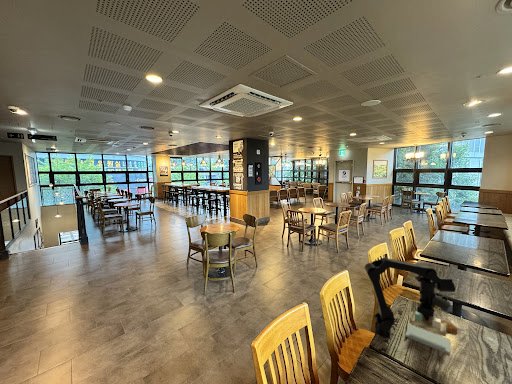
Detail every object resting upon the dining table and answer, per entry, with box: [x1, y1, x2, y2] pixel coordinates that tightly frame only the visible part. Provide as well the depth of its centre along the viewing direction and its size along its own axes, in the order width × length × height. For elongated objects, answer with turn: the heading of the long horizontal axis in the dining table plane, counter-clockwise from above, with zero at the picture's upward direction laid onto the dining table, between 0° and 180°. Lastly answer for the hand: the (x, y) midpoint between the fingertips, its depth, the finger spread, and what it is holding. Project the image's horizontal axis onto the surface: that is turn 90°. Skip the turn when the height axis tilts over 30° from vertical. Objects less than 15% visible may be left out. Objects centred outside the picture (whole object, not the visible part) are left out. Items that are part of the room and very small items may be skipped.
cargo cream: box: [432, 316, 442, 328], centre depth 103 cm, size 3×3×3 cm
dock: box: [405, 324, 451, 355], centre depth 107 cm, size 17×10×2 cm, turn 45°
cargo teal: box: [414, 310, 422, 322], centre depth 109 cm, size 3×3×3 cm
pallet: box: [409, 311, 447, 338], centre depth 106 cm, size 14×7×7 cm, turn 45°
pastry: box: [441, 319, 458, 334], centre depth 115 cm, size 9×7×4 cm
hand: (427, 319), depth 106 cm, fingers closed on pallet, 2 cm apart
